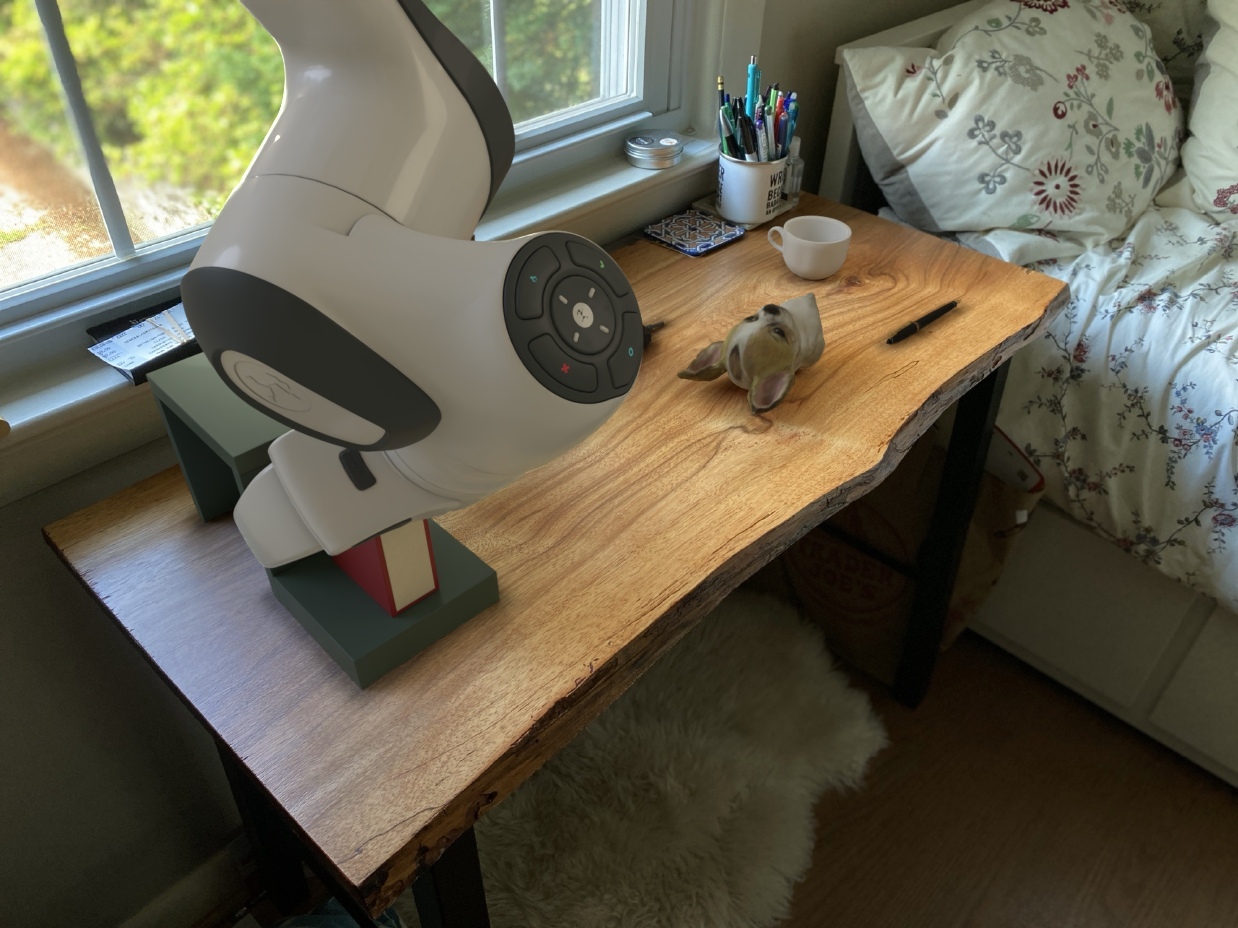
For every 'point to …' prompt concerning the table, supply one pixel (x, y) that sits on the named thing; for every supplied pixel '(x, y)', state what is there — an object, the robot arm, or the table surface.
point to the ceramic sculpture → (765, 352)
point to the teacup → (813, 245)
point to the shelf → (315, 585)
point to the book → (394, 566)
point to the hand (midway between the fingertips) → (376, 482)
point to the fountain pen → (919, 323)
